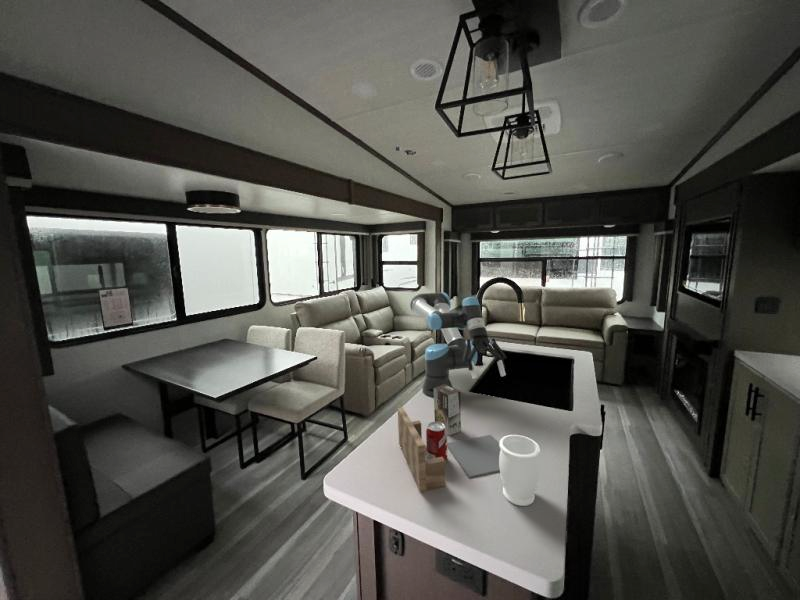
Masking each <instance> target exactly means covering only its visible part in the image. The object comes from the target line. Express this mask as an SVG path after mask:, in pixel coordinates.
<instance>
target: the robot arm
mask: <svg viewBox="0 0 800 600" xmlns="http://www.w3.org/2000/svg"><path fill="white" fill-rule="evenodd" d="M461 304H462V305H461V306H462V308H461V310H460V311H452V312H450V309H451V308H452V307H451V305H452V303H451V298H450V296H449V295H448V294H447V293H446V292H439V291H437V292H432V293H431V292H429V293H418V294H417V295H414V297H412V298H411V300H410V304H409V305H410V309H411V311H412V313H414V314H415V315H418V316H421V317H422V318H423V319H425V320H426V323H427V328H428V329H430V330H440V331H441V332H442V335H443V337H444V339H445V342H446V343H434V344H431V345H429V346H427V347H426V348H425V351H424V361H425V362H424V363H425V364H424V365H425V366H424V367H425V368H424V370H425V377H424V381H423V383H422V393H423V394H424V395H426V396H428V397H430V398H431V397H432V398H434V388H435V387H438V386H441V385H444V384H446V385H448V386H451V387H453V384H452V381H451V379H450V373H449V372H450V371H453V370H460V369H461V370H462V369H467V370H468V371H469V372H470V373H471V378H472V380H474V379H476V378H478V375H477V370H476V367H475V365H476V364H477V361H478V351H486V352H488V353H489V354H491V355H492V356H493V358H494V359H496V360H497V361H496V363H497V367H498V371H499V374H500V377H505V376H506V375H507V373H506V371H505V367H506V364H505V362H504V360H505V359H507V358H508V357H507V355H506V354H505V352H504V351H503V350H502V349H501V347H500V346H499V344H498V343H497V341H496V339H495V338H492V339H489V337H488V336H489V335H488V331H487V328H486V324H485V321H484V320H485V319H484V317H483V313H482V312H483V311H482V308H481V304H480V302H479V300H478V298H477V297H475V296H470V297H465V298H463V300H462V301H461ZM465 329H468V331H469V332H468V334H469V336H470V339H471V340H470V339H469V338H468V339H466V338H464V337H463V336H462V335H461V333H460V331H461V330H465ZM459 330H460V331H459Z"/></svg>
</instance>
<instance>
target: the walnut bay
mask: <svg viewBox="0 0 800 600" xmlns="http://www.w3.org/2000/svg"><path fill="white" fill-rule="evenodd" d="M397 427H398V428H397V430H398V446H399V445H400V446H399V448H400V447H401V448H400V451H401V450H402V451H401V452H403V453H402V455H403V454H404V455H403V457H404V459H406V460H405V462H406V461H407V462H406V463H407V466H409V467H408V469H409V471H410V473H411V476H412V478H413V481H414V483H415V485H416V486H417V489H418V492H419V493H422V492H425V491H430V490H435V489H440V488H443V487H446V480H447V479H446V462H445V460H444V458H443V457H438V458H433V459H429V460H427V459H426V444H425V443H424V441H423V436H422V433H423V431H422V422H421V421H420V420H415V421H411V419H410V416H409V415H408V414H407V412H406V410H405V409H404V407H398V408H397Z"/></svg>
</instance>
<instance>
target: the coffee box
mask: <svg viewBox="0 0 800 600" xmlns="http://www.w3.org/2000/svg"><path fill="white" fill-rule="evenodd" d="M433 404H434V405H433V407H434V411H433V412H434V422H441V423H443V424H444V425H445V429H446V430H447V436H451V435H454V434H457V433H460V432H461V430H462V427H461V426H462V424H461V423H462V421H461V420H462V417H461V415H462V413H461V411H462V409H461V407H462V406H461V390H459V389H457V388H455V387H453V386H452V387H451V386H448V385H446V384H444V385H441V386H438V387H435V388H434V397H433Z"/></svg>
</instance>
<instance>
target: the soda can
mask: <svg viewBox="0 0 800 600" xmlns="http://www.w3.org/2000/svg"><path fill="white" fill-rule="evenodd" d="M425 432H426V433H425V434H426V436H425V438H426V439H425V440H426V444H425V445H426V460H429V459H433V458H438V457H443V458H444V460H445V463H447V461H448V447H447V443H448V435H447V430H446V429H445V425H444V424H443V423H441V422H435V421H432V422H430V423H428V425H427V428H426V430H425Z"/></svg>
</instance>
